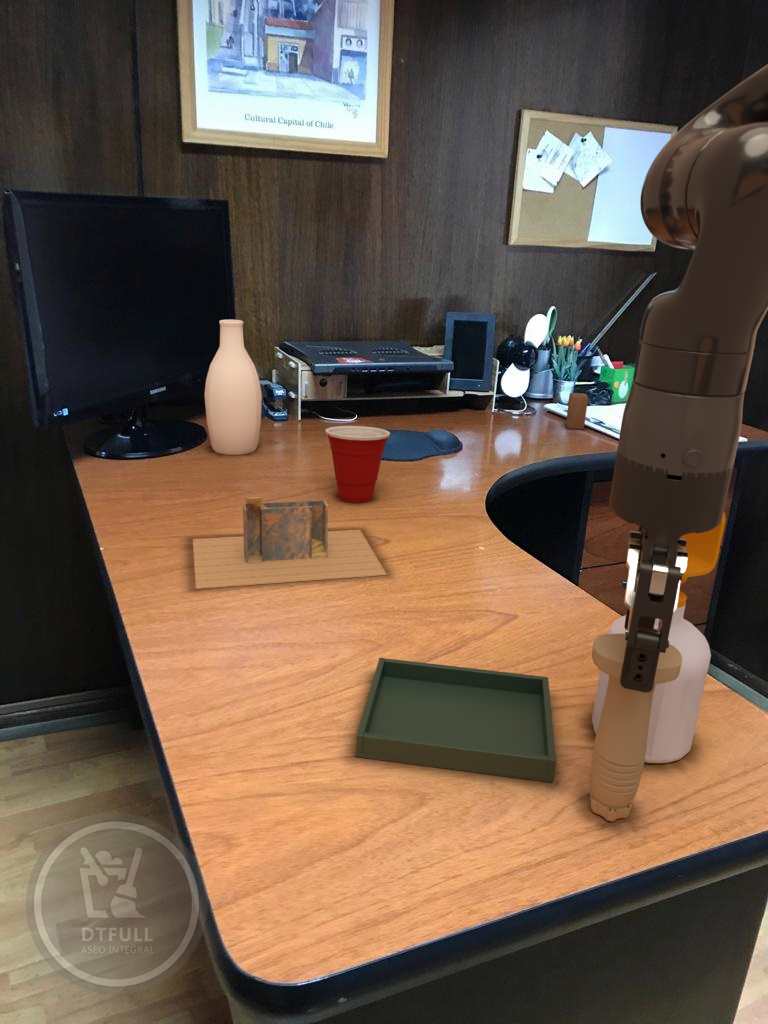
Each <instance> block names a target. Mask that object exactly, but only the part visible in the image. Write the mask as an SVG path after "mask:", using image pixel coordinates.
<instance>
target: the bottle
mask: <svg viewBox="0 0 768 1024" xmlns="http://www.w3.org/2000/svg"><path fill="white" fill-rule="evenodd" d="M218 323H219V347H218V349H217V351H216V353H215V355H214V356H213V359H212V361H211V362H210V364H209V368H208V371H207V375H206V379H205V385H204V386H205V387H204V405H205V416H206V424H207V431H208V435H209V440H210V445H211V449H212V450H213V451H214V452H215V453H217V454H220V455H226V456H241V455H248V454H251V453H254V452H255V451H256V450H257V448H258V446H259V440H260V431H261V426H262V425H261V424H262V401H263V399H262V398H263V394H262V388H261V382H260V378H259V375H258V371H257V369H256V364H255V363H254V362H253V360H252V358H251V357H250V355H249V353H248V351H247V349H246V348H245V343H244V341H245V340H244V329H243V328H244V327H243V325H244V321H243V320H240V319H221V320H219V322H218Z"/></svg>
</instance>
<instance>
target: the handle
mask: <svg viewBox="0 0 768 1024" xmlns="http://www.w3.org/2000/svg"><path fill="white" fill-rule="evenodd" d="M626 643H627V641H626V640H625V634H607V633H606V634H599V635H597V636H596V637H595V638H594V640H593V643H592V650H591V659H592V662H593V664H594V666H595V667H596V668H597V669H598V670H599V671H600V670H601V671H603V672H604V673H606V674H608V675H609V681H608V687H607V691H606V696H605V700H604V705H603V709H602V713H601V717H600V721H599V725H598V729H597V733H595V738H594V740H593V741H594V742H593V747H592V753H591V759H590V771H589V772H590V774H589V785H590V791H589V800H590V810H591V811H592V812H593V814H597V815H599V816H601V817H602V818H604V819H605V820H606V821H608V822H615V821H617V820H620V819H627V818H628V817H629V815H630V813H631V811H632V808H633V804H631V803H632V802H633V800H634V798H635V796H636V794H637V792H638V788H639V785H640V782H641V779H642V776H643V771H644V767H645V763H646V762H645V756H646V747H647V738H648V729H649V720H650V713H651V705H652V698H653V692H654V689H655V686H656V684H660V683H665V682H669V681H674V680H675V679H676V678H677V677H678V676H679V673H680V668H681V664H682V656H681V653H680V652H679V651H678V650H677V649H676V648H675V647H674V646H672V645H670V644H669V647H668V648H666V652H665V653H661V652H660V654H659V659H658V664H657V669H656V674H655V679H654V684H653V689H652V690H651V691H650V692H647V693H645V692H640V691H635V690H630V689H626V688H624V687H622V686H621V684H620V677H621V671H622V665H623V660H624V654H625V648H626Z"/></svg>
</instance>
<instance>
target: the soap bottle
mask: <svg viewBox="0 0 768 1024" xmlns="http://www.w3.org/2000/svg"><path fill="white" fill-rule="evenodd" d="M726 517H727V515H726V513H725V511H724V512H723V516H722V520H721V522H720V524H719V525H718V526H717V527H716V528H714V529H712V530H710V531H707V532H703V533H689V534H685V535H683V536H681V538H683V539H687V544H686V550H685V552H688V560H687V568H686V571H685V573H684V574H683V576H682V580H681V583H680V585H683V584H686V582H687V581H688V578H694V577H700V576H706V575H708V574H710V573H711V572H712V571H713V570H714V568H715V567H716V565H717V562H718V559H719V553H720V549H721V544H722V540H723V535H724V530H725V525H726V520H727V519H726ZM687 600H688V597H687V594H686V593H684V592H683V591H682V590H680V591H679V599H678V606H677V610H676V611H675V613H674V614H673V616H672V621H671V627H670V632H669V637H668V641H669V644H670V645H672V646H674V647H675V648H676V649H677V650H678V651H679V652H680V653H681V656H682V664H681V668H680V673H679V676H678V677H677V678H676V679H675V680H674V681H669V682H665V683H660V684H656V686H655V689H654V692H653V698H652V705H651V713H650V720H649V729H648V738H647V747H646V756H645V762H644V763H647V764H669V763H672V762H676V761H679V760H681V759H683V757H685V756H686V755H687V754H688V753H689V752H690V751H691V749H692V745H693V740H694V735H695V732H696V727H697V723H698V717H699V713H700V708H701V704H702V699H703V695H704V690H705V685H706V681H707V677H708V673H709V672H708V671H709V667H710V662H711V658H712V653H711V648H710V644H709V642H708V640H707V638H706V636H705V635H704V634H703V633H702V632H701V631H700V630H699V629H698V627H696V626H695V625H694V624H692V623H691V621H688V620H687V619H685V618H684V615H685V609H686V605H687ZM625 618H626V614H624V615H622V616H620V617H619V618H617V619H615V620H614V621H613V623H611V625H610V627H609V629H608V630H607V632H606V634H625V627H624V626H625ZM658 624H659V619H657V618H656V619H655V624H654V629H658ZM598 673H599V674H598V680H597V686H596V692H595V699H594V703H593V704H594V705H593V710H592V717H591V722H592V727H593V731H594V734H596V733H597V729H598V725H599V721H600V717H601V713H602V709H603V705H604V700H605V696H606V691H607V687H608V681H609V675H608V674H606V673H604V672H603V671H601V670H600V669H599V672H598Z"/></svg>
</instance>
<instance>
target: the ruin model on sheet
mask: <svg viewBox="0 0 768 1024" xmlns="http://www.w3.org/2000/svg"><path fill="white" fill-rule="evenodd" d="M242 522H243V524H242V525H243V535H242V536H225V537H209V538H207V537H206V538H193V539H192V548H193V565H194V576H195V577H194V579H195V580H194V582H195V589H196V590H198V589H211V588H226V587H238V586H239V587H241V586H252V585H253V586H254V585H265V584H266V585H268V584H279V583H280V584H281V583H293V582H307V581H321V580H323V581H324V580H334V579H335V580H336V579H350V578H363V577H376V576H387V575H388V574H387V573H386V571H385V569H384V567H383V566H382V564H381V563H380V561H379V559H378V557H377V556H376V554H375V552H374V550H373V549H372V548H371V546H370V544H369V542H368V541H367V539H366V537H365V536H364V534H363V532H362V531H361V529H347V530H331V531H329V505H328V502H327V500H326V499H311V500H290V501H267V502H264V496H262V495H260V496H256V497H255V496H252V497H248V496H246V498H245V499H244V503H242Z"/></svg>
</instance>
